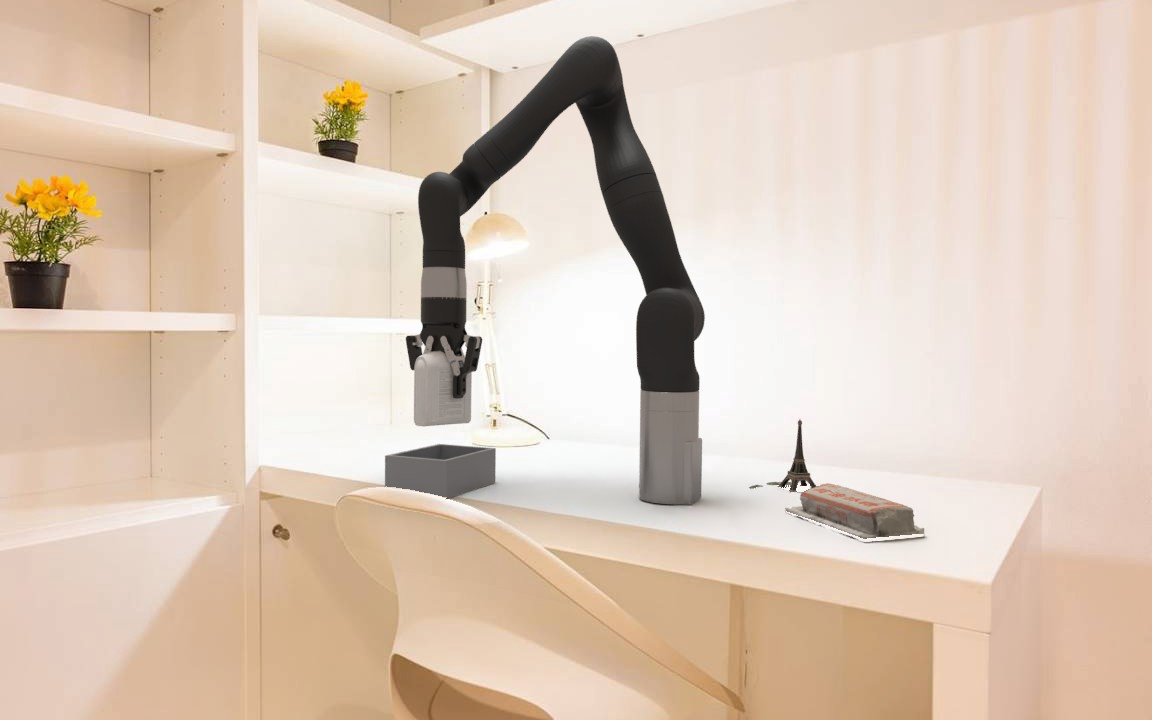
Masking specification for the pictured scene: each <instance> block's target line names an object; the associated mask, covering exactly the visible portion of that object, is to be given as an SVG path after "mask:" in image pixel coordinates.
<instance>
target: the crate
mask: <svg viewBox="0 0 1152 720" xmlns="http://www.w3.org/2000/svg"><path fill="white" fill-rule="evenodd" d="M496 450H497V449H496V447H484V446H470V445H457V444H445V443H437V444H433V445H432V444H431V445H428V446H423V447H419V448H415V449H409V450H405V451H401V452H395V453H390V454H386V455H384V487H385V486H387V487H396V488H402V489H410V490H415V491H419V492H424V493H430V494H434V495H438V496H442V497H447V498H448V499H450V498H454V497H456V496H459V495H462V494H466V493H468V492H471V491H475V490H477V489H480V488H483V487H487V486H489V485H492V484H494V483H495V484H496V466H497V465H496V459H497V458H496V453H497V451H496Z"/></svg>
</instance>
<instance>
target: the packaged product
mask: <svg viewBox="0 0 1152 720" xmlns="http://www.w3.org/2000/svg"><path fill="white" fill-rule="evenodd" d="M810 488H811V487H810ZM799 496H800V497H799V500H800V502H801V505H800V506H799V505H798V506H792V507H791V508H790V507H785V508H784V509H785V512H786V511H787V512H790V513H793V514H796V515H798V516H802V517H805V518H808V519H811V520H814V521H816V522H819V523H822V524H825V525H828V526H830V527H833V528H836V529H838V530H841V531H844V532H847V533H849V534H852V535H855V536H858V537H860V538H863V539H867V538H876V537H889V536H900V535H912V534H924V535H925V528H924V527H922V528H920V527H919V526H917V525H915V521H914V517H915V515H914V509H913V508H912V507H910V506H908V505H904V504H901V503H899V502H894V501H892V500H888V499H885V498H882V497H879V496H876V495H872V494H869V493H868V494H867V493H865V492H862V491H858V490H855V489H852V488H849V487H845V486H841V485H839V484H835V483H834V484H833V483H828V482H827V483H822V484H820V486H816V487H814V488H811V489H808V490H806V491H804V492H800V495H799Z"/></svg>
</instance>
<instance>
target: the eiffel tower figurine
mask: <svg viewBox="0 0 1152 720" xmlns="http://www.w3.org/2000/svg"><path fill="white" fill-rule="evenodd" d="M802 425H803V421H802V420H801V419H799V420H797V436H796V446H795V447H796V448H795V453H794V458H793V461H792V464H791V467H790V469H789V470H787V475H786V476H785V477H784V479H783V480H782V481H776V482H775V481H769V482H767V483H766V485H768V486H774V485H779V486H776V487H778V488H779V487H781V488H782V487H783V488H784V487H785V485H786V487H787V485H788V487H789V485H790V487H791V488H790V490H789V491H790V492H789V493H791V492H797V491H796V488H797V485H798V483H801V485H800V486H807V484H810V486H811V487H810V488H814V487H817V486H816V485H817V484H815V482H814V480H813V479H812V477H811V473H810V472H809V471H808V469H807V465H806V462H805V461H806V459H805V458H804V457H805V456H804V449H803V434H802V433H803V432H802V431H803V429H802ZM790 480H791V481H790ZM763 486H764V485H761V484H760V485H759V484H754V485H751V486H749V487H748V488H750V489H752V490H753V489H754V488H755V489H757V488H761V487H762V488H763ZM756 487H757V488H756ZM786 487H785V488H786ZM781 488H780V489H781ZM797 493H798V492H797Z"/></svg>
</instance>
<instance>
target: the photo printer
mask: <svg viewBox="0 0 1152 720" xmlns="http://www.w3.org/2000/svg"><path fill="white" fill-rule="evenodd" d="M465 355H466V354H464V356H465ZM456 356H458V355H456ZM413 371H414V373H413V375H414V376H413V379H414V380H413V381H414V382H413V388H414V389H413V422H414V424H415V426H416V427H433V426H435V427H436V426H445V425H446V426H447V425H461V424H469V423H471V421H472V382H473V381H472V380H473V379H472V378H473V377H472V375H473V374H472V373H473V372H471V373H468V374H467V376H466V393H465V395H464V396H463V398H459V399H455V398H453V376H455V374H454V372H453V369H452V366H451V364H450V363H449V362H448V359H447V356H446V354H445V353H444V352H442V351H437V352H436V351H433V352H429V353H426V354H423V353H422V355H421V356H419V357H418V358H417V359H416V362H415V367H414V370H413Z"/></svg>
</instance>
